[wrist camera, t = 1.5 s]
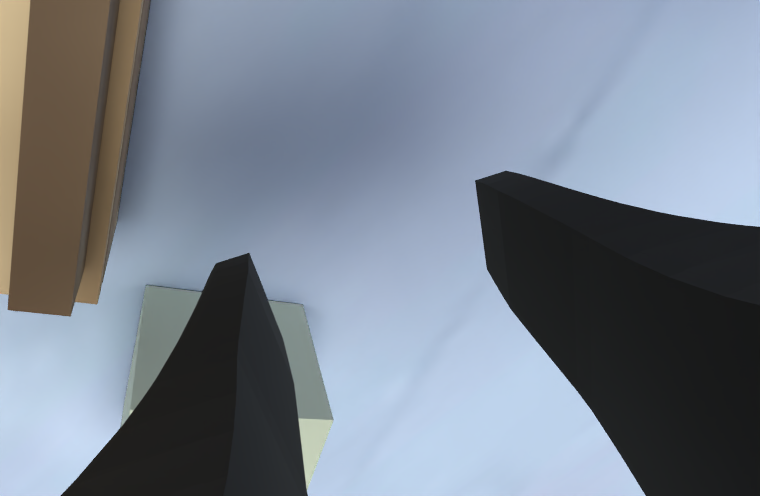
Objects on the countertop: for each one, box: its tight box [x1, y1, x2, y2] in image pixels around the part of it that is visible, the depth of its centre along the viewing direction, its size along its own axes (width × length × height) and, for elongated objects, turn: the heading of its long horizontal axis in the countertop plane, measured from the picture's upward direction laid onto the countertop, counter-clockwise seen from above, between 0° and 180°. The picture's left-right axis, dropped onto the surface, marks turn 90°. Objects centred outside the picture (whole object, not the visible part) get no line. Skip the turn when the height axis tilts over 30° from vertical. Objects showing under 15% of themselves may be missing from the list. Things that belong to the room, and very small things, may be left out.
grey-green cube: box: [120, 285, 333, 489], centre depth 20 cm, size 6×6×6 cm
